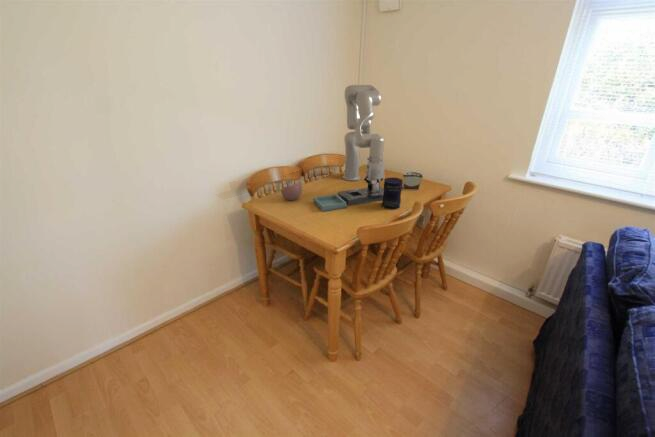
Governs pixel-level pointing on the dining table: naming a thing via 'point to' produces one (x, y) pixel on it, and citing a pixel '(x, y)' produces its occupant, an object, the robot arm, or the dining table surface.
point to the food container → (412, 180)
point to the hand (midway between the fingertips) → (373, 189)
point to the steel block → (374, 187)
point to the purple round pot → (291, 191)
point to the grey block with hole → (360, 196)
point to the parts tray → (329, 202)
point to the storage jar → (392, 193)
